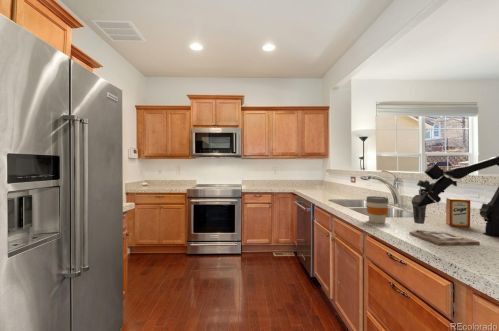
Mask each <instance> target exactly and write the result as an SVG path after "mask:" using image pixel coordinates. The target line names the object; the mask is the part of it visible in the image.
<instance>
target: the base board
mask: <svg viewBox="0 0 499 331" xmlns="http://www.w3.org/2000/svg"><path fill="white" fill-rule="evenodd" d="M410 234H411V236H413V237H415V238H419V239H421V240H424V241H425V242H428V241H429V242H428V243H431V244H433V243H434V245H436V244H437V246H459V245H460V246H467V245H469V246H470V245H480V241H479V240H475V239H473V238H469V237H465V236H463V235H460V234H456V233H452V232H449V231H448V230H447V231H446V230H443V231H442V230H441V231H440V230H438V231H434V230H433V231H409V235H410Z"/></svg>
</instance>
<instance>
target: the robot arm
mask: <svg viewBox="0 0 499 331" xmlns="http://www.w3.org/2000/svg"><path fill="white" fill-rule="evenodd" d="M493 166H498V167H499V156H497V155H496V156H492V157H490V158H486V159H483V160H481V161H477V162H474V163H471V164H468V165H464V166H456V167H451V168H449V169H448V170H443V169H442V168H441V167H439V166H438V164H436V163H435V164H434V163H433V165H431V166H429V167H427V168H426V169H425V170H424V174H425V175H427V176H428V177H429V178H430V179H431V180H436V181H435V182H431V183H430V181H429V180H424V181H423V180H421V179H420V180H419V179H418V182H417V183H416V186H418V187H421V195H423V196H424V199H423V200H422V201H421V202H420V203H419V204H418V207H421V206H425V205H427V206H428V205H431V204H436V203H440V202H441V201H442V199H441V197H440V194H444V193H445V192H446V191H445V190H447V189H448V188H449V187H450V186H451V185H452V186H453V187H458V184H457V183H458V181H457V180H461V179H462V178H464V177H467V176H469V175H470V174H471V173H475V172H478V171H481V170H484V169H487V168H490V167H493ZM453 179H454V180H453ZM417 191H418V195H420V189H418V190H417ZM478 210H479V215H480V217H482V218H483V220H484V221H485V228H484V229H485V230H484V231H485V232H482V234H483V235H486V236H491V237H495V238H499V186H498V187H497V189H496V191H495V192H494V194H493V196H492V197H491V200H490V201H489V202H488V203H485V202H484V203H482V204H481V206H480V208H479V209H478Z"/></svg>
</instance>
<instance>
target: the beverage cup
mask: <svg viewBox="0 0 499 331" xmlns="http://www.w3.org/2000/svg"><path fill="white" fill-rule="evenodd" d="M421 189H422V187H421V186H419V190H420V195H419V194H416V195H414V196H413V197H412V198H411V205H412V212H413V213H412V214H413V221H414V224H419V225H423V224H425V219H426V213H427V211H426V210H427V206H428V205H425V206H421V207H418V204H419V203H420V202H421V201H422V200H423V199H424V196H423V195H421Z"/></svg>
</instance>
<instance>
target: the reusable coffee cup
mask: <svg viewBox="0 0 499 331" xmlns="http://www.w3.org/2000/svg"><path fill="white" fill-rule="evenodd" d="M365 201H366V204H367V205H366V212H367V215H368V221H369V222H371V223H374V224H384V223H386V219H387V218H386V217H387V215H388V210H389V207H388V205H389V197H385V196H376V195H375V196H374V195H373V196H372V195H371V196H366V200H365Z"/></svg>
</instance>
